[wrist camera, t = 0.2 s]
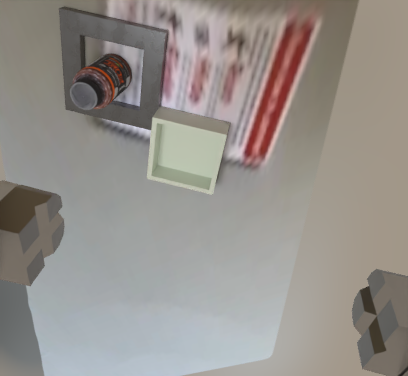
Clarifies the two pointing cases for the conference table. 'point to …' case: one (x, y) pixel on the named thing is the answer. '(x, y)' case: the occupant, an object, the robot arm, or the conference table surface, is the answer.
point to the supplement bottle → (100, 82)
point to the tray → (186, 149)
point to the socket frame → (122, 34)
